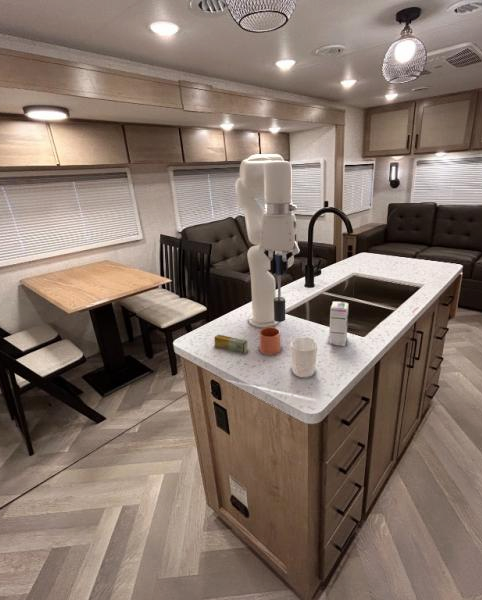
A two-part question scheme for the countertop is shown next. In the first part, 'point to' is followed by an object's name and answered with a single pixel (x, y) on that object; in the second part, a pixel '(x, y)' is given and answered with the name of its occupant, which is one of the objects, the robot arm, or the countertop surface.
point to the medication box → (231, 343)
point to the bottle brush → (279, 293)
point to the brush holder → (270, 340)
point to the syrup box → (338, 323)
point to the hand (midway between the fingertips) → (279, 272)
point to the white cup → (303, 356)
